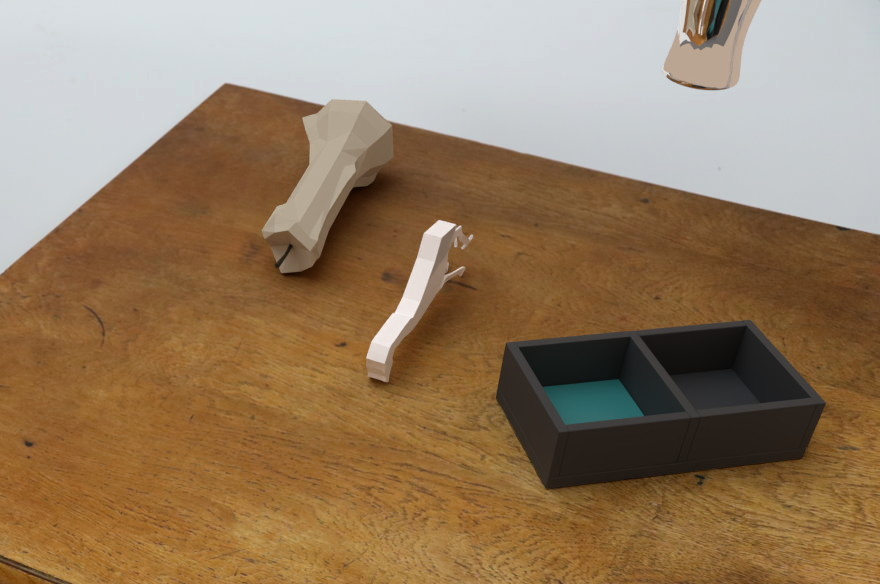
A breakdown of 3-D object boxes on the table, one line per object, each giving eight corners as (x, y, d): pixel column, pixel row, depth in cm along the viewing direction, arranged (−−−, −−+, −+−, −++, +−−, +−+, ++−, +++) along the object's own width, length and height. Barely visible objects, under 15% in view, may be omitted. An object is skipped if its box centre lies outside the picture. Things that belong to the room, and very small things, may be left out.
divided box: (731, 373, 85) (750, 319, 82) (803, 458, 77) (826, 402, 74) (495, 397, 81) (505, 342, 78) (545, 489, 74) (559, 432, 70)
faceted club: (411, 163, 108) (339, 307, 90) (330, 169, 112) (244, 309, 93) (394, 77, 103) (314, 211, 85) (309, 87, 106) (215, 218, 88)
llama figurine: (426, 341, 97) (358, 381, 81) (458, 214, 94) (392, 229, 77) (446, 347, 96) (381, 388, 80) (478, 219, 93) (417, 236, 77)
